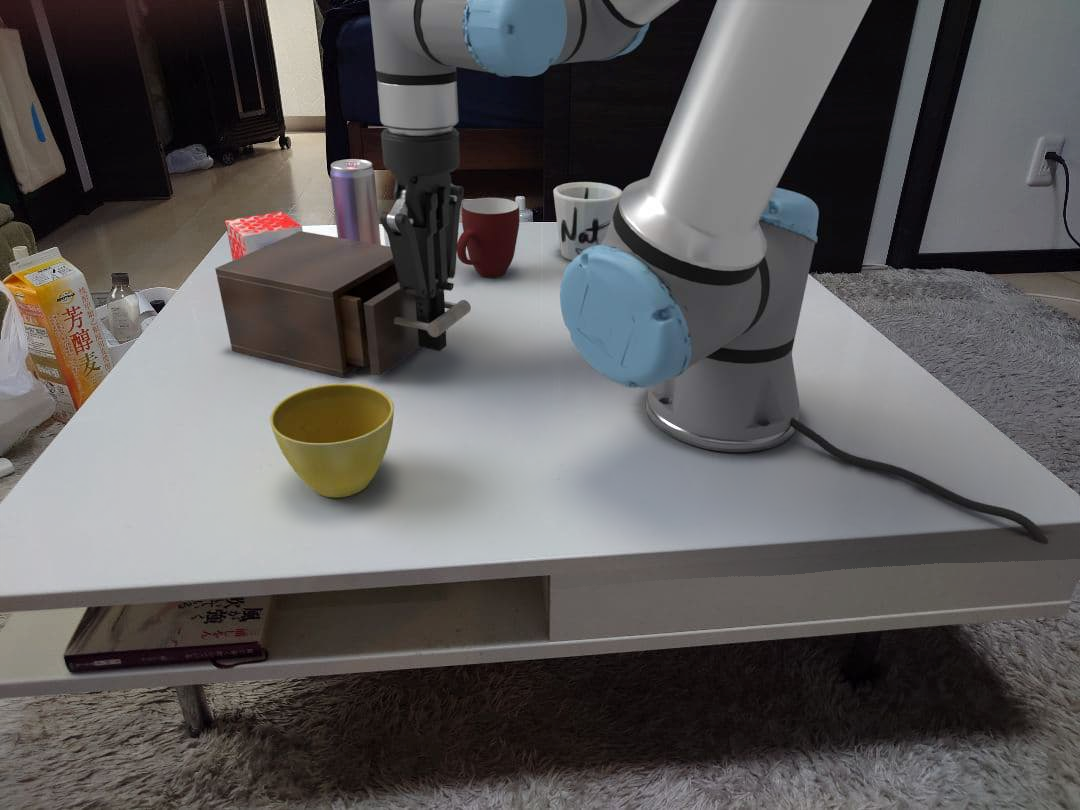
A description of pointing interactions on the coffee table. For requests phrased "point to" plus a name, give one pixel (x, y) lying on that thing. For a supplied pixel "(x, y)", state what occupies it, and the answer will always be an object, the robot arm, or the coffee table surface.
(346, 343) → the drawer
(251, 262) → the cabinet
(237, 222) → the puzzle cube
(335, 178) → the beverage can
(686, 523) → the coffee table surface
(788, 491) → the coffee table surface
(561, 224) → the mug
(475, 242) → the mug
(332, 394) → the yellow bowl
